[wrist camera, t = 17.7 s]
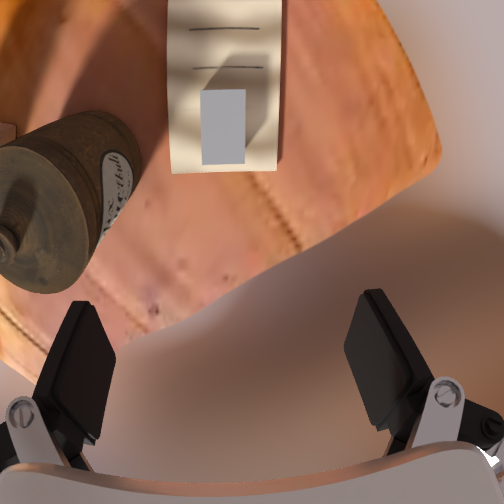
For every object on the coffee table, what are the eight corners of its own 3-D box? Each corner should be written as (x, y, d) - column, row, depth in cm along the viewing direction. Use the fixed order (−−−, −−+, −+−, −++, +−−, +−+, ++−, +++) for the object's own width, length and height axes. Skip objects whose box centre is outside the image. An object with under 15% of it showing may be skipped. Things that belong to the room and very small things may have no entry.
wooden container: (112, 231, 40) (52, 346, 22) (35, 182, 34) (-59, 267, 16) (163, 145, 35) (99, 224, 16) (74, 92, 29) (-48, 124, 10)
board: (170, -8, 24) (168, -11, 23) (279, -9, 25) (281, -13, 24) (173, 170, 37) (171, 174, 35) (274, 167, 38) (276, 171, 36)
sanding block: (203, 89, 30) (200, 90, 26) (242, 88, 31) (245, 89, 26) (204, 154, 34) (202, 165, 30) (242, 153, 35) (244, 163, 31)
